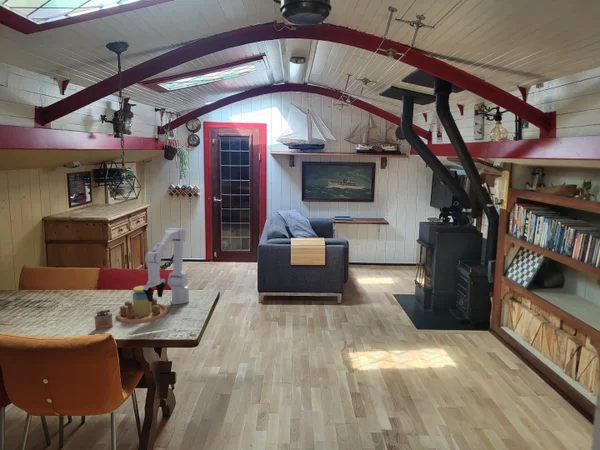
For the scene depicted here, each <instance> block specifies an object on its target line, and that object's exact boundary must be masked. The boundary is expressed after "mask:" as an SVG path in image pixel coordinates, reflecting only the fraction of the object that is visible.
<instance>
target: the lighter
mask: <svg viewBox="0 0 600 450" xmlns="http://www.w3.org/2000/svg"><path fill="white" fill-rule="evenodd" d="M94 325H95V326H94V327H95V331H101V330H107V329H111V328H113V327H114V326H113V313H111V309H109V308H108V309H101V310H99V311H96V315H94Z"/></svg>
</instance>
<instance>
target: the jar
mask: <svg viewBox="0 0 600 450" xmlns="http://www.w3.org/2000/svg"><path fill="white" fill-rule="evenodd" d="M144 286H145V285H138V286H134V288H132V291H133V293H132V302H133V307H134V314H135V317H144V316H148V315H151V314H152V304H151V302H149V301H148V298H147V296H146V294H145V292H144V291H143V289H144Z"/></svg>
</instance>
